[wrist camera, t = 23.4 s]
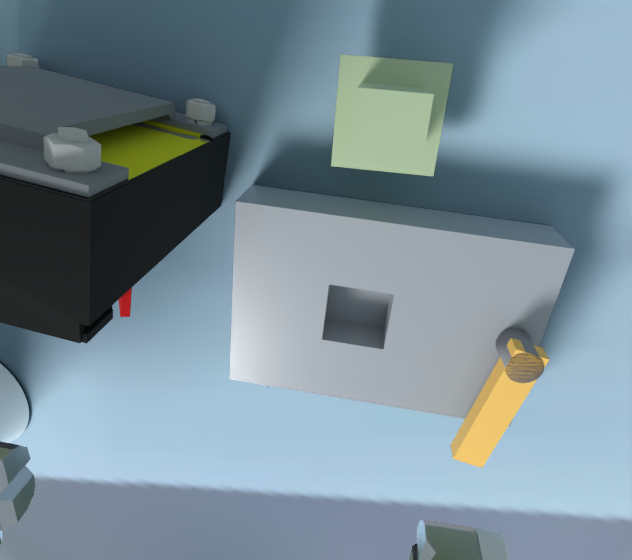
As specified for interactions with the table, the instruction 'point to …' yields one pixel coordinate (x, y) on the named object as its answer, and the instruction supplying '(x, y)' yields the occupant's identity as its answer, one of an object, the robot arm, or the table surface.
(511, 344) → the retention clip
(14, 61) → the electrical component
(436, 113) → the plug
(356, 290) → the grey flat block
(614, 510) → the table surface
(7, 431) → the robot arm
